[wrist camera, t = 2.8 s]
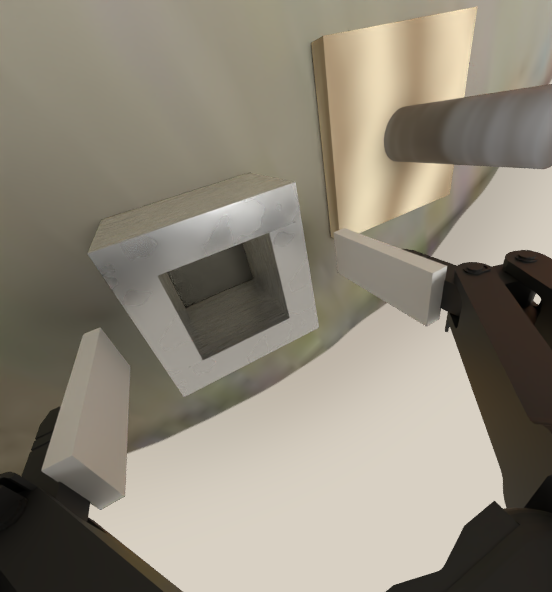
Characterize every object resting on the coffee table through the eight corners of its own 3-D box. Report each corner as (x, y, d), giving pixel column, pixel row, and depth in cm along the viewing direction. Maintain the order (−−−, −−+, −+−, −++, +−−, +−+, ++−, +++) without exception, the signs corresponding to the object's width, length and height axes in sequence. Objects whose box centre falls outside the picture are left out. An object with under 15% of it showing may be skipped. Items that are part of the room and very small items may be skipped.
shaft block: (331, 237, 22) (446, 288, 14) (311, 42, 15) (511, -75, 7) (437, 192, 25) (583, 213, 17) (459, 13, 18) (717, -92, 10)
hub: (171, 337, 20) (184, 397, 15) (101, 219, 15) (87, 253, 10) (278, 288, 22) (319, 327, 17) (249, 172, 17) (295, 182, 12)
